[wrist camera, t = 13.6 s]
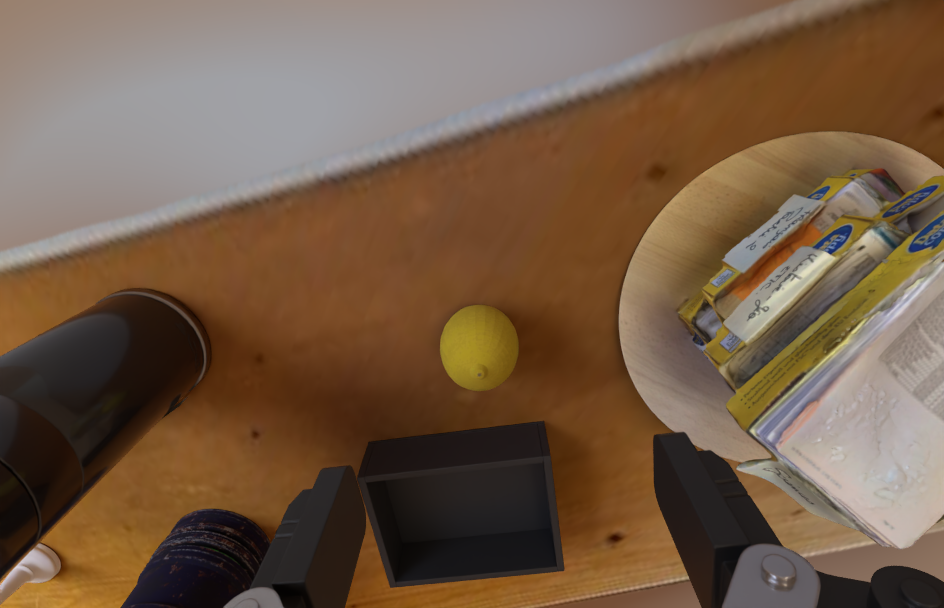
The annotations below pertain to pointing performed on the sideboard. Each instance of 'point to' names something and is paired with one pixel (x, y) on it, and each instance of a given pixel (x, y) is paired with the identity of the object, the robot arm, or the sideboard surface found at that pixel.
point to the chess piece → (31, 570)
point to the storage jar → (201, 562)
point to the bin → (463, 505)
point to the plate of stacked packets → (804, 325)
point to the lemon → (479, 347)
